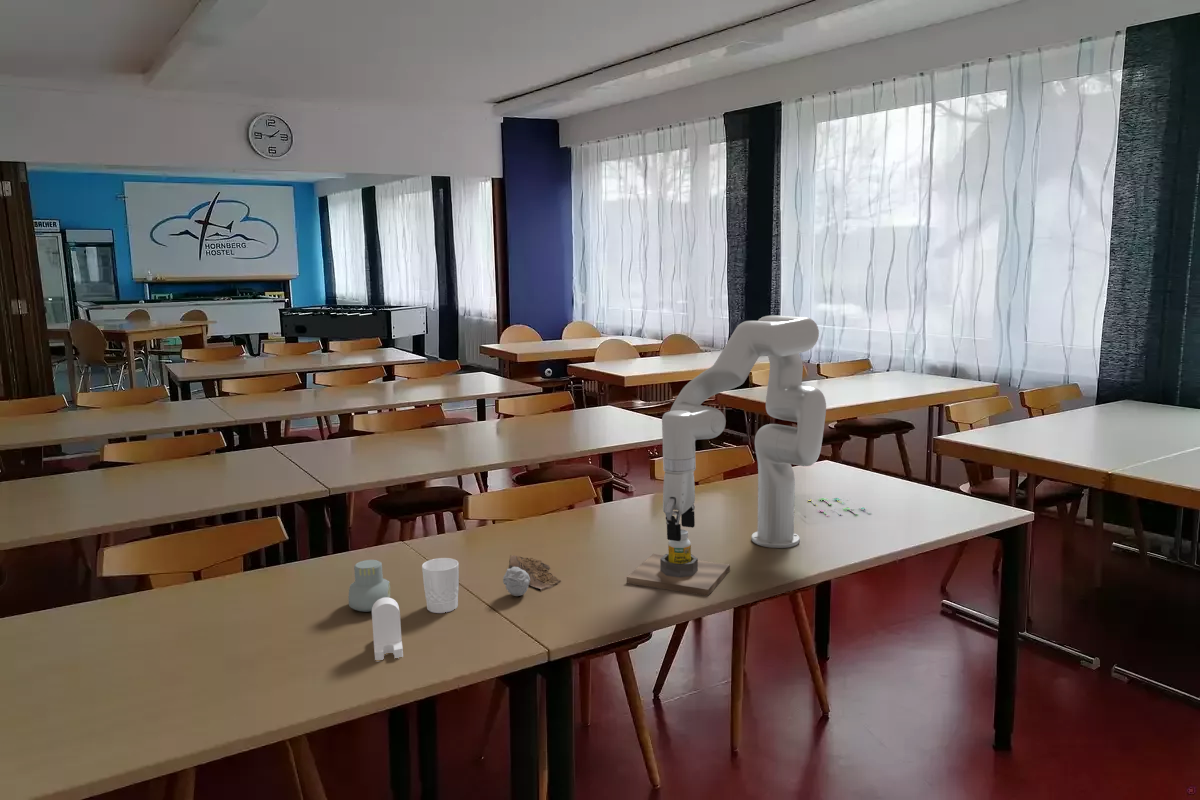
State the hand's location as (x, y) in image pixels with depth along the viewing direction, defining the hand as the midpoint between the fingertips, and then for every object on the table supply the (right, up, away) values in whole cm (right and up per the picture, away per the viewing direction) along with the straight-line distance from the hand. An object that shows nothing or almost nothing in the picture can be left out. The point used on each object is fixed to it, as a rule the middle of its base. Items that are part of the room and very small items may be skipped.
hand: (681, 533), depth 200 cm
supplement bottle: (0, -9, +1) cm, 9 cm away
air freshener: (-70, -15, -13) cm, 73 cm away
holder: (0, -11, +1) cm, 11 cm away
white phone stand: (-61, -18, -34) cm, 72 cm away
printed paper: (+53, -2, +55) cm, 76 cm away
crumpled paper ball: (-38, -13, -8) cm, 41 cm away
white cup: (-54, -14, -14) cm, 58 cm away
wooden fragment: (-37, -11, +6) cm, 39 cm away
